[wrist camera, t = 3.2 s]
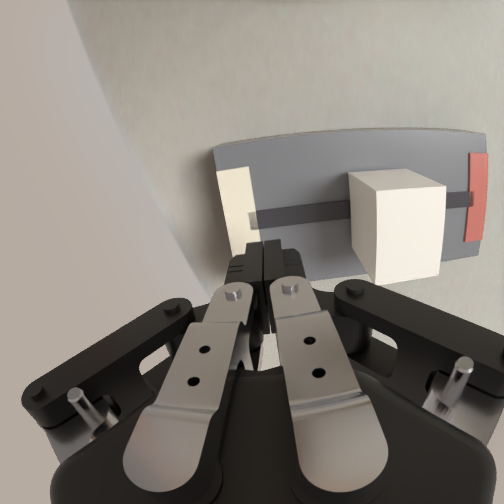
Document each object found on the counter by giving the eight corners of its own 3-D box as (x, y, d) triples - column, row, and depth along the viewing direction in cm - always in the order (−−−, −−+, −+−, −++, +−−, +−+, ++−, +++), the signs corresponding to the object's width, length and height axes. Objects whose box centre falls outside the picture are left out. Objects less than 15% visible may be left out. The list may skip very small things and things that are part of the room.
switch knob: (405, 168, 16) (446, 186, 12) (404, 240, 18) (438, 275, 14) (348, 172, 17) (376, 190, 12) (351, 247, 19) (374, 285, 14)
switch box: (458, 129, 19) (487, 134, 15) (455, 237, 23) (479, 256, 19) (222, 143, 21) (211, 148, 17) (243, 263, 25) (239, 290, 21)
